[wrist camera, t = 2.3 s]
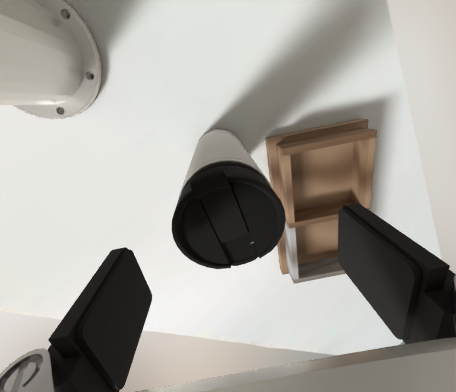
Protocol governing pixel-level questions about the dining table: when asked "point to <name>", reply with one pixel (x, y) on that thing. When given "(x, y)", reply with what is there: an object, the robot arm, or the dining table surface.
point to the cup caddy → (319, 191)
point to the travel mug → (226, 206)
